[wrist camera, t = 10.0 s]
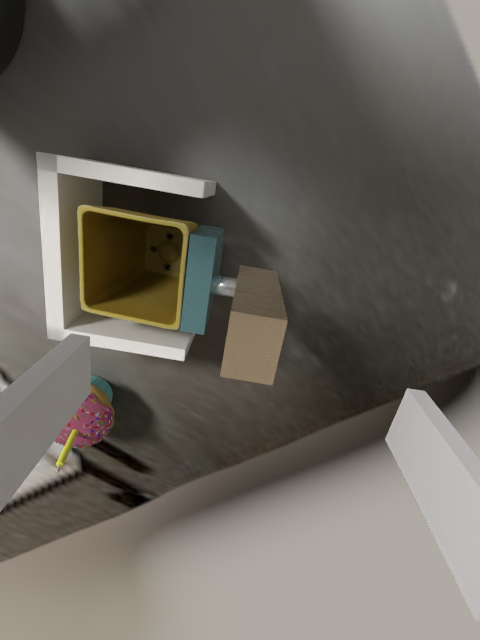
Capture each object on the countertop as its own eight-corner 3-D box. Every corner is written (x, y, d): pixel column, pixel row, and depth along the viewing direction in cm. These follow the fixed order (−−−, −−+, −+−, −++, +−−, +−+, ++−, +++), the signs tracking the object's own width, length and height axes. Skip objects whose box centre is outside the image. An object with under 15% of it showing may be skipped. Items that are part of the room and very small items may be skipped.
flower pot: (126, 283, 37) (78, 311, 28) (128, 200, 33) (75, 203, 25) (204, 299, 36) (179, 332, 28) (215, 215, 33) (189, 224, 24)
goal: (87, 158, 32) (36, 151, 24) (216, 181, 32) (204, 181, 25) (88, 308, 38) (47, 338, 30) (198, 326, 38) (183, 361, 31)
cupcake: (133, 373, 41) (86, 444, 30) (121, 426, 44) (75, 508, 33) (63, 353, 40) (-11, 418, 29) (56, 408, 43) (-13, 486, 32)
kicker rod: (206, 221, 33) (156, 259, 16) (277, 234, 33) (296, 284, 17) (196, 298, 36) (147, 394, 19) (261, 309, 36) (265, 413, 20)
